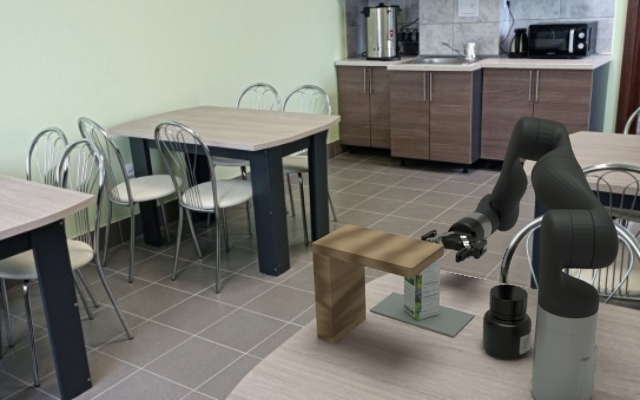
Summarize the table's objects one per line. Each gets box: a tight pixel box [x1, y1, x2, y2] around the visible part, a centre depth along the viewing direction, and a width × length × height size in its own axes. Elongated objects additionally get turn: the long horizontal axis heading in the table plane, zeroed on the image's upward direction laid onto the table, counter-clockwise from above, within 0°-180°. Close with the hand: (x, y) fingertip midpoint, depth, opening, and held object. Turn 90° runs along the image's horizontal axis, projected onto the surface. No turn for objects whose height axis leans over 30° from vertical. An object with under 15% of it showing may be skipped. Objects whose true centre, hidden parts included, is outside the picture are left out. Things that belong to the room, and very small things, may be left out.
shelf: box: [311, 223, 445, 344], centre depth 122 cm, size 22×12×21 cm, turn 53°
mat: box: [369, 291, 476, 338], centre depth 134 cm, size 20×10×1 cm, turn 53°
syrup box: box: [403, 257, 442, 321], centre depth 132 cm, size 6×6×14 cm
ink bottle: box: [481, 284, 533, 360], centre depth 118 cm, size 10×9×12 cm
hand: (439, 254), depth 136 cm, fingers open, 8 cm apart
